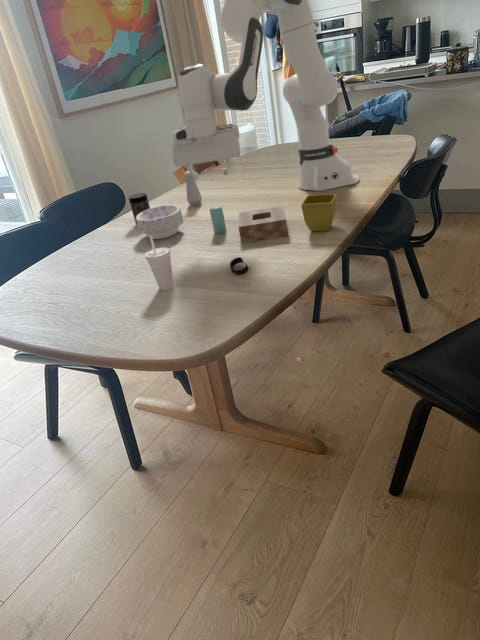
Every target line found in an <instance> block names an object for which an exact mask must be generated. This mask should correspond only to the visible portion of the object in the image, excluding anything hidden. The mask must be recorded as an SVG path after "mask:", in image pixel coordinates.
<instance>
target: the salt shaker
mask: <svg viewBox="0 0 480 640" xmlns="http://www.w3.org/2000/svg"><path fill="white" fill-rule="evenodd" d="M183 178H184V179H185V181H186V182H185V183H186V186H185V187H186V200H187V203H188V205H189V206H190V207H198V206H201V204H202V200H203V197H202V194H201V192H200V190H199V187H198V185H197V182H196V180H193V177H192V174H191V173H190V172H189V171H188V170H186V171H185V172H184V173H183Z"/></svg>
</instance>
